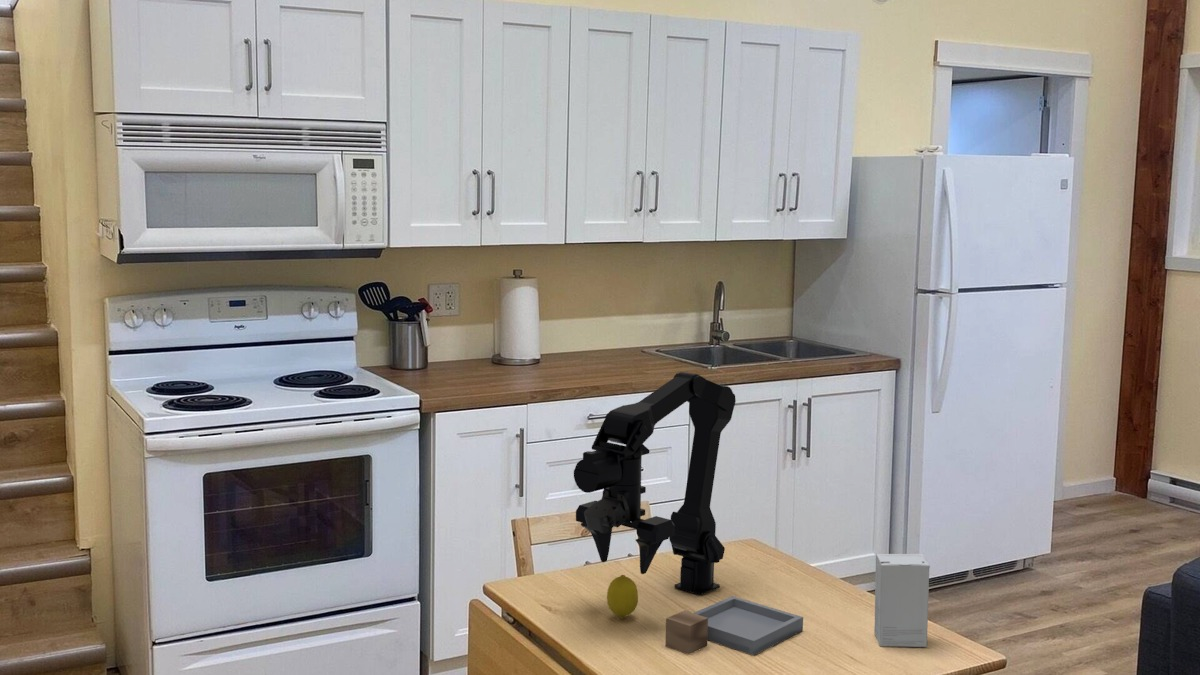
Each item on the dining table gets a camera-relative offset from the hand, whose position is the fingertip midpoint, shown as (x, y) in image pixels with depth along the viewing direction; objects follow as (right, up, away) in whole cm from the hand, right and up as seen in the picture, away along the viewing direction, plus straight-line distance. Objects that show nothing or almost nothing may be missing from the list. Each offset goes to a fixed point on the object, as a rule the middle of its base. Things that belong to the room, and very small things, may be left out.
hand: (623, 567), depth 210 cm
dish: (+21, -10, -4) cm, 23 cm away
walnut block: (+10, -11, -11) cm, 19 cm away
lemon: (0, -10, +1) cm, 10 cm away
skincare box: (+47, -11, -7) cm, 49 cm away
